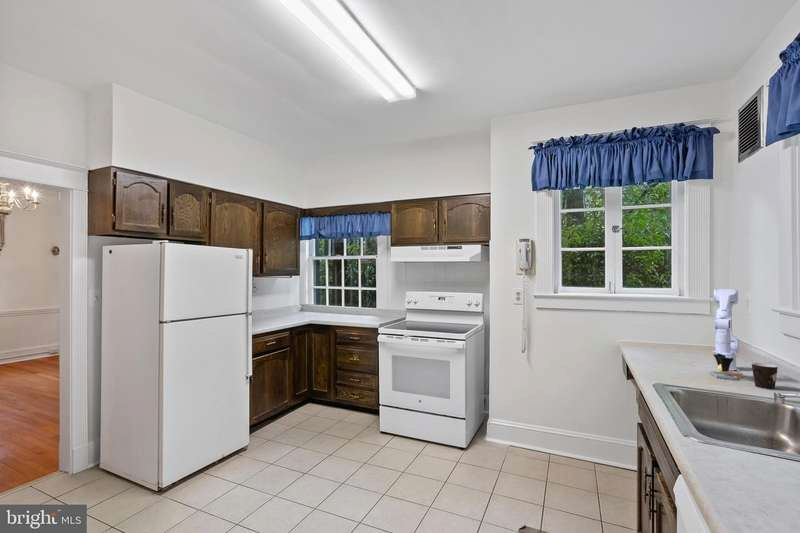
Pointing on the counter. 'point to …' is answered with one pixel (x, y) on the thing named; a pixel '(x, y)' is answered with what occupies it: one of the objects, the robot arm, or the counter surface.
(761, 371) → the coffee mug
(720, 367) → the ball
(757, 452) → the counter surface
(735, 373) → the dish
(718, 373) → the tray
